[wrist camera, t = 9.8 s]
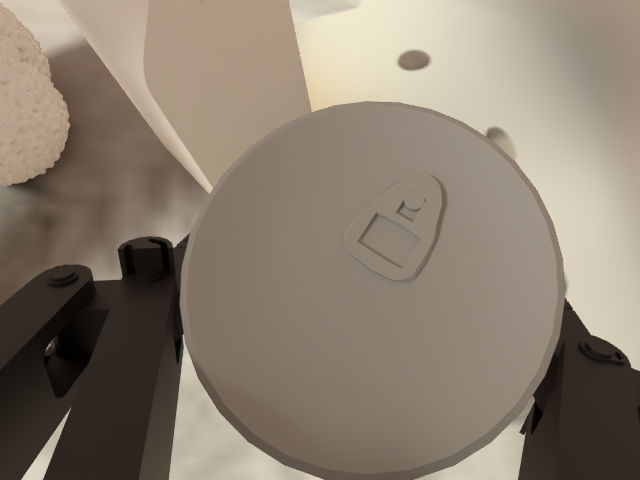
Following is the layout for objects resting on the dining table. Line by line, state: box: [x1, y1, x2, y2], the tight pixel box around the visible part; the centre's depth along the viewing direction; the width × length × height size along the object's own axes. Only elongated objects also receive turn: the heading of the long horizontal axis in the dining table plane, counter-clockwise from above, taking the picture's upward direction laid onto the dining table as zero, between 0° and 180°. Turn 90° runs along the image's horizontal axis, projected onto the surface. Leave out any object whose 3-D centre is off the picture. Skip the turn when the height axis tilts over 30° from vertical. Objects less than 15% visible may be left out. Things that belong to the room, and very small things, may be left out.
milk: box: [58, 0, 312, 194], centre depth 28 cm, size 12×12×26 cm
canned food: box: [180, 101, 565, 480], centre depth 13 cm, size 8×8×11 cm
